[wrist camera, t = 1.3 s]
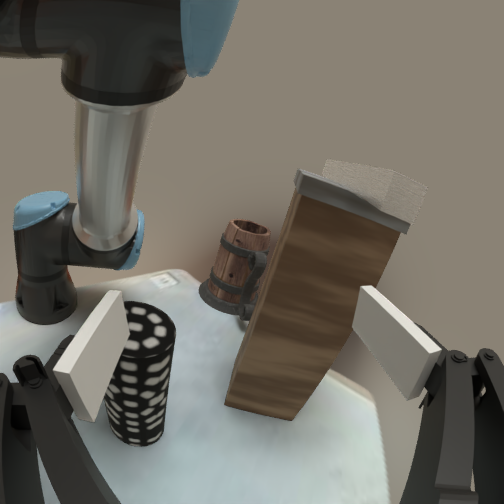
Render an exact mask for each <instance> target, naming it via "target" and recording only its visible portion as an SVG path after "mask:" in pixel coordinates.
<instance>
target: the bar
mask: <svg viewBox="0 0 504 504" xmlns="http://www.w3.org/2000/svg"><path fill="white" fill-rule="evenodd" d="M322 175H323V176H325V177H327V178H328V179H330V180H332V181H333V182H335V183H337V184H339V185H340V186H342V187H344V188H345V189H347V190H349V191H350V192H352V193H354V194H355V195H357V196H358V197H360V198H362V199H363V200H365V201H366V202H368V203H369V204H371V205H373V206H374V207H376V208H377V209H379V210H380V211H383V212H385V213H387V214H390V215H392V216H394V217H397V218H399V219H401V220H403V221H406V222H408V223H410V224H412V225H414V223H415V221H416V218H417V216H418V213H419V210H420V208H421V205H422V202H423V199H424V196H425V194H426V191H427V188H428V187H426V186H425V185H423V184H421V183H419V182H417V181H415V180H413V179H411V178H409V177H407V176H405V175H403V174H401V173H399V172H397V171H395V170H390V169H385V168H379V167H373V166H368V165H362V164H356V163H349V162H342V161H335V160H327V161H326V164H325V166H324V170H323V173H322Z"/></svg>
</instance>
